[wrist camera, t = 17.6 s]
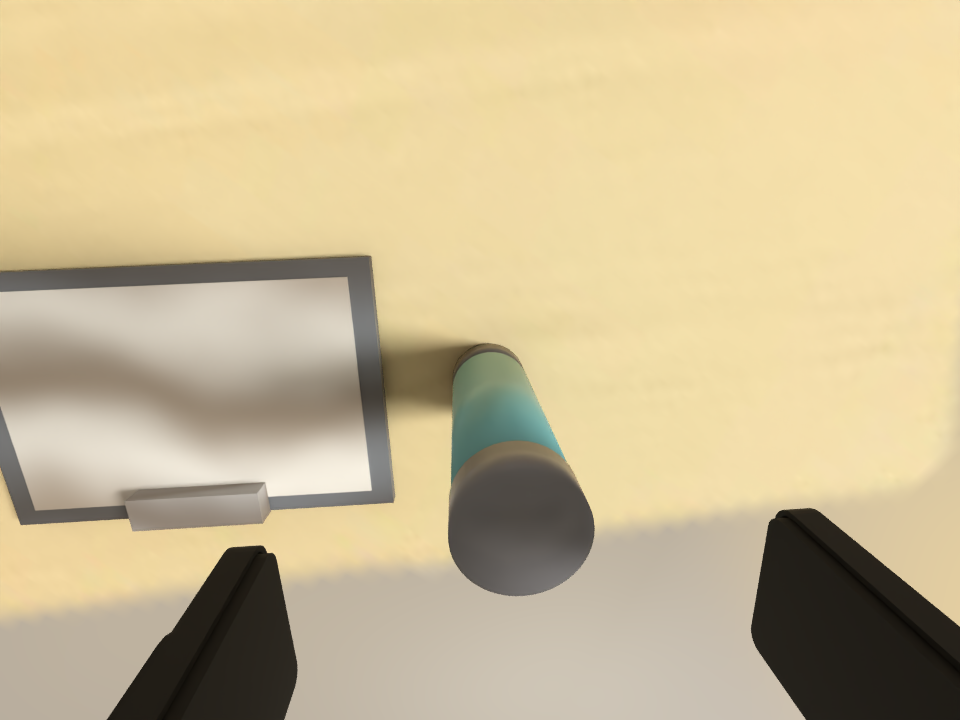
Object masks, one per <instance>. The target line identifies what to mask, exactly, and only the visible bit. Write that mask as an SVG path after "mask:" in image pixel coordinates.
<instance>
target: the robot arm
mask: <svg viewBox="0 0 960 720" xmlns="http://www.w3.org/2000/svg"><path fill="white" fill-rule="evenodd" d="M751 633H752V638H753V641H754V644H755V646H756V648H757V650H758V651H759V653H760V654H761V656H762V657H763V658H764V660H765V661H766V663H767V664H768V666H769V667H770V669H771V670H772V671H773V673H774V674H775V676H776V677H777V679H778V680H779V682H780V683H781V684H782V686H783V687H784V689H785V690H786V691H787V693H788V694H789V696H790V697H791V699H792V700H793V702H794V703H795V704H796V706H797V707H798V709H799V710H800V712H801V713H802V714H803V716H804V717H805V719H806V720H960V627H959V626H958V625H957V624H956V623H955V622H953V621H952V620H951V619H950V618H948V617H947V616H946V615H945V614H943V613H942V612H941V611H940V610H939V609H938V608H936V607H935V606H934V605H933V604H931V603H930V602H929V601H927V600H926V599H925V598H924V597H923V596H922V595H920V594H919V593H918V592H917V591H916V590H914V589H913V588H912V587H911V586H909V585H908V584H907V583H906V582H905V581H903V580H902V579H901V578H900V577H898V576H897V575H896V574H895V573H893V572H892V571H891V570H890V569H889V568H887V567H886V566H884V564H883V563H881V562H880V561H879V560H878V559H876V558H875V557H874V556H873V555H872V554H870V553H869V552H868V551H867V550H865V549H864V548H863V547H861V546H860V545H859V544H858V543H857V542H856V541H854V540H853V539H852V538H851V537H849V536H848V535H847V534H846V533H845V532H843V531H842V530H841V529H840V528H839V527H837V526H836V525H835V524H834V523H832V522H831V521H830V520H829V519H828V518H826V517H825V516H824V515H823V514H821V513H820V512H819V511H817V510H815V509H811V508H805V509H791V510H782V511H779V512H778V513H777V514H776V517H775V519H772V520H771V521H770V522H769V525H768V531H767V536H766V543H765V548H764V554H763V560H762V566H761V572H760V577H759V583H758V589H757V595H756V602H755V607H754V613H753V619H752V625H751ZM296 679H297V660H296V655H295V650H294V645H293V640H292V635H291V630H290V625H289V621H288V615H287V610H286V605H285V600H284V595H283V590H282V585H281V580H280V575H279V570H278V565H277V560H276V556H275V555H274V554H273V553H267V552H266V549H265V548H264V546H261V545H260V546H245V547H231V548H229V549H227V550H226V551H225V553H224V554H223V555H222V557H221V558H220V560H219V561H218V563H217V564H216V566H215V567H214V569H213V570H212V572H211V573H210V575H209V576H208V578H207V579H206V581H205V582H204V584H203V585H202V587H201V588H200V590H199V591H198V593H197V594H196V596H195V597H194V599H193V600H192V602H191V604H190V605H189V607H188V608H187V610H186V611H185V613H184V614H183V616H182V617H181V619H180V620H179V622H178V623H177V625H176V626H175V628H174V629H173V631H172V632H171V633H169V634H168V635H166V636H165V637H164V638H163V639H162V641H161V642H160V643H159V644H158V645H157V647H156V648H155V650H154V651H153V652H152V654H151V656H150V657H149V658H148V660H147V661H146V663H145V664H144V666H143V667H142V669H141V670H140V672H139V673H138V675H137V676H136V678H135V679H134V681H133V682H132V684H131V685H130V687H129V688H128V689H127V691H126V693H125V694H124V695H123V697H122V698H121V700H120V701H119V703H118V704H117V706H116V707H115V709H114V710H113V712H112V713H111V715H110V716H109V717H108V719H107V720H284V719H285V716H286V713H287V709H288V706H289V703H290V700H291V697H292V694H293V691H294V688H295V684H296Z"/></svg>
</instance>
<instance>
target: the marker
mask: <svg viewBox="0 0 960 720" xmlns="http://www.w3.org/2000/svg"><path fill="white" fill-rule="evenodd" d="M594 529H595V528H594V519H593V515H592V511H591V509H590V506H589V504H588V502H587V500H586V498H585V496H584V493H583V491H582V489H581V487H580V485H579V483H578V481H577V479H576V477H575V474H574V472H573V471H572V469H571V467H570V466H569V465H568V463H567V462H566V460H565V457H564V455H563V453H562V451H561V449H560V447H559V445H558V442H557V440H556V438H555V436H554V434H553V432H552V429H551V427H550V425H549V423H548V421H547V419H546V417H545V414H544V412H543V410H542V408H541V406H540V404H539V402H538V399H537V397H536V395H535V393H534V391H533V389H532V386H531V384H530V382H529V380H528V378H527V376H526V374H525V371H524V369H523V367H522V365H521V363H520V361H519V359H518V358H517V357H516V355H515V354H514V353H513V352H511V351H510V350H509V349H507V348H505V347H503V346H500V345H496V344H482V345H478V346H475V347H473V348H471V349H469V350H468V351H466V352H465V353H464V354H463V355H462V356H461V357H460V359H459V360H458V362H457V363H456V366H455V368H454V372H453V401H452V462H451V489H450V495H449V522H448V542H449V548H450V552H451V555H452V558H453V560H454V562H455V563H456V565H457V567H458V568H459V569H460V571H461V572H462V573H463V574H464V575H465V576H466V577H467V578H468V579H469V580H470V581H472V582H473V583H474V584H476V585H478V586H480V587H481V588H483V589H485V590H488V591H490V592H494V593H497V594H502V595H508V596H525V595H533V594H537V593H541V592H544V591H547V590H549V589H552V588H554V587H556V586H558V585H560V584H561V583H563V582H564V581H566V580H567V579H569V578H570V577H571V576H572V575H573V574H574V573H575V572H576V571H577V570H578V569H579V568H580V567H581V565H582V564H583V563H584V561H585V560H586V558H587V556H588V554H589V552H590V549H591V547H592V543H593V539H594Z"/></svg>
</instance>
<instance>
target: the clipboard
mask: <svg viewBox="0 0 960 720" xmlns="http://www.w3.org/2000/svg"><path fill="white" fill-rule="evenodd" d="M0 467H1V470H2V473H3V476H4V479H5V482H6V484H7V487H8V490H9V493H10V496H11V499H12V501H13V504H14V507H15V510H16V513H17V516H18V519H19V521H20V524H21V525H30V524H47V523H63V522H80V521H97V520H113V519H129V520H130V524H131V527H132V531H147V530H163V529H180V528H196V527H212V526H229V525H245V524H262V523H263V522H264V521H265V519H266V518H267V516H268V515H269V513H270V512H271V510H280V509H296V508H313V507H330V506H346V505H363V504H379V503H394V498H395V491H394V481H393V471H392V460H391V450H390V440H389V430H388V420H387V410H386V400H385V390H384V380H383V370H382V360H381V350H380V340H379V330H378V320H377V310H376V300H375V290H374V280H373V270H372V260H371V256H358V257H335V258H311V259H288V260H264V261H241V262H217V263H193V264H170V265H146V266H123V267H99V268H75V269H52V270H28V271H5V272H0Z"/></svg>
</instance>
